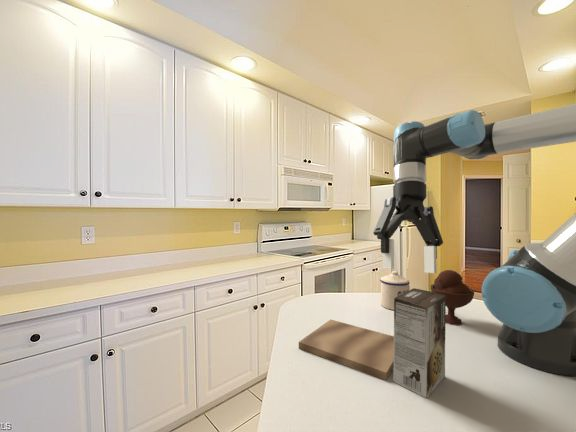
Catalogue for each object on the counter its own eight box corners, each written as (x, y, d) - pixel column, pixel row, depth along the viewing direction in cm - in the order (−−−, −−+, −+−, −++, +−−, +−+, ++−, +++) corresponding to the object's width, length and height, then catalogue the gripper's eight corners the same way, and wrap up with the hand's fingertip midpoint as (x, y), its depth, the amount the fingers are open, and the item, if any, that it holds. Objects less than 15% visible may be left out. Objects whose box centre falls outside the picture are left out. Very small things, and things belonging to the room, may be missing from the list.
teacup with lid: (397, 313, 85) (397, 276, 84) (374, 304, 93) (374, 270, 92) (420, 306, 91) (421, 271, 91) (397, 298, 99) (397, 266, 98)
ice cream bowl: (481, 330, 73) (482, 274, 72) (436, 327, 75) (437, 272, 75) (464, 315, 83) (465, 266, 83) (424, 312, 85) (425, 265, 85)
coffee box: (412, 363, 57) (413, 287, 57) (446, 377, 53) (447, 294, 52) (391, 381, 51) (392, 296, 51) (427, 399, 47) (429, 306, 46)
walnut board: (406, 346, 65) (406, 339, 65) (386, 380, 52) (386, 372, 52) (330, 324, 76) (330, 319, 76) (298, 348, 64) (298, 341, 63)
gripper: (430, 196, 76) (432, 274, 72) (359, 177, 66) (356, 266, 62) (457, 190, 69) (460, 275, 65) (381, 168, 59) (380, 266, 55)
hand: (410, 271), depth 64 cm, fingers open, 13 cm apart
